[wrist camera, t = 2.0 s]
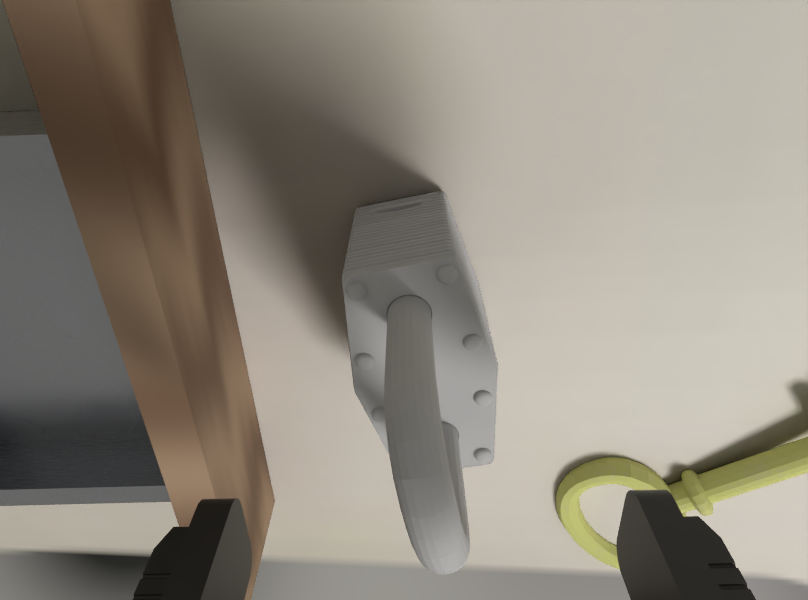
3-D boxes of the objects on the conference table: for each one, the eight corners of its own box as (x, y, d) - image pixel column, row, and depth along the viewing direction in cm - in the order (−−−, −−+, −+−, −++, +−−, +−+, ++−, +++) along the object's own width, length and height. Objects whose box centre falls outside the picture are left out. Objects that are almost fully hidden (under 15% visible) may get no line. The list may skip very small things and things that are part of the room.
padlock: (337, 208, 19) (278, 421, 10) (461, 182, 18) (514, 382, 10) (386, 382, 22) (375, 653, 13) (492, 364, 22) (551, 632, 13)
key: (861, 404, 23) (901, 443, 21) (629, 565, 28) (645, 607, 26) (744, 313, 21) (776, 346, 19) (516, 503, 26) (524, 545, 24)
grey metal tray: (-228, 120, 17) (-341, 148, 15) (143, 106, 17) (96, 132, 14) (-44, 448, 24) (-99, 508, 21) (227, 441, 23) (204, 500, 21)
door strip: (109, -32, 15) (-9, -31, 11) (162, -35, 15) (66, -33, 11) (242, 501, 25) (208, 613, 21) (274, 501, 25) (247, 612, 21)
